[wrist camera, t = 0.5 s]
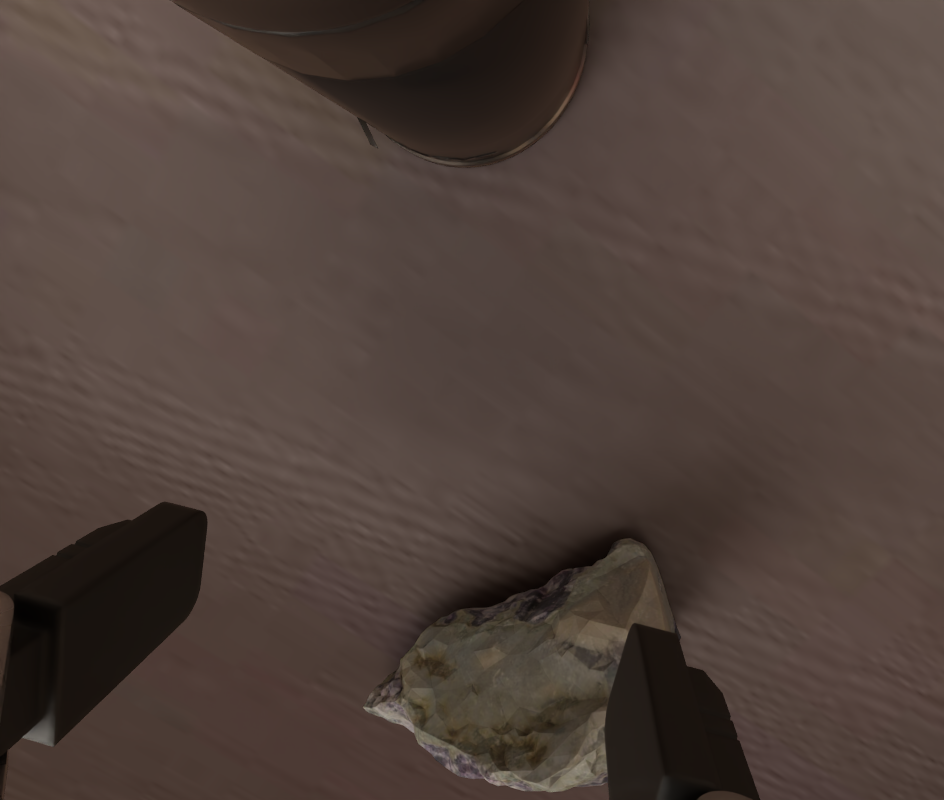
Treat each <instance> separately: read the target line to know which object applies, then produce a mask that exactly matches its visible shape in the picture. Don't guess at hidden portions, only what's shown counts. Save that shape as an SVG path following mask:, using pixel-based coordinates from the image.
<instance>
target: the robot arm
mask: <svg viewBox="0 0 944 800" xmlns="http://www.w3.org/2000/svg"><path fill="white" fill-rule="evenodd" d="M170 1H172V2H173V3H175V4H176V5H178V6H179V7H181V8H182V9H184V10H186V11H187V12H189V13H191V14H192V15H194V16H195V17H197V18H199V19H200V20H202V21H203V22H205V23H207V24H208V25H210V26H211V27H213V28H215V29H216V30H218V31H220V32H221V33H223V34H224V35H226V36H228V37H229V38H231V39H232V40H234V41H236V42H237V43H239V44H241V45H242V46H244V47H245V48H247V49H249V50H250V51H252V52H253V53H255V54H257V55H258V56H260V57H262V58H264V59H265V60H267V61H268V62H270V63H272V64H273V65H275V66H276V67H278V68H280V69H281V70H283V71H284V72H286V73H288V74H289V75H291V76H292V77H294V78H296V79H297V80H299V81H301V82H302V83H304V84H305V85H307V86H309V87H310V88H312V89H313V90H315V91H317V92H318V93H320V94H321V95H323V96H325V97H326V98H328V99H329V100H331V101H333V102H334V103H336V104H337V105H339V106H341V107H342V108H344V109H345V110H347V111H349V112H350V113H352V114H353V115H355V116H357V118H358V120H359V122H360V124H361V126H362V128H363V130H364V132H365V134H366V136H367V138H368V140H369V142H370V144H371V145H372V146H374V147H376V148H378V147H377V145H376V143H375V141H374V139H373V137H372V134H371V132H370V130H369V128H368V126H367V124H366V123H368V124H369V125H371V126H373V127H374V128H376V129H378V130H379V131H381V132H382V133H384V134H385V135H386V136H387V137H389V138H390V139H391V140H392V141H393V142H395V143H396V144H397V145H399V146H400V147H402V148H403V149H405V150H407V151H408V152H410V153H412V154H414V155H415V156H417V157H420V158H422V159H424V160H426V161H429V162H432V163H435V164H439V165H444V166H449V167H458V168H471V167H481V166H486V165H491V164H494V163H498V162H501V161H504V160H506V159H508V158H511V157H513V156H515V155H517V154H519V153H520V152H522V151H524V150H526V149H527V148H529V147H530V146H531V145H533V144H534V143H535V142H537V141H538V140H539V139H540V138H541V137H543V136H544V135H545V134H546V133H547V132H548V131H549V130H550V129H551V128H552V127H553V125H554V124H555V123H556V122H557V120H558V119H559V118H560V117H561V115H562V114H563V112H564V111H565V109H566V108H567V106H568V104H569V103H570V101H571V99H572V97H573V95H574V93H575V91H576V88H577V86H578V84H579V81H580V78H581V75H582V72H583V68H584V64H585V60H586V54H587V47H588V37H589V0H170ZM206 533H207V516H206V514H205V513H204V512H203V511H200V510H196V509H192V508H189V507H185V506H181V505H177V504H173V503H169V502H162V503H160V504H158V505H156V506H155V507H153V508H152V509H150V510H148V511H147V512H145V513H143V514H142V515H140V516H139V517H137V518H135V519H134V520H132V521H131V520H125V521H121V522H118V523H115V524H111V525H108V526H104V527H101V528H98V529H96V530H95V531H93V532H91V533H89V534H88V535H86V536H84V537H83V538H81V539H79V540H78V541H76V543H75V545H74V544H71V545H69V546H67V547H66V548H64V549H62V550H61V551H59V552H58V553H57V555H56V556H54V555H52V556H50V557H49V558H47V559H45V560H44V561H42V562H40V563H38V564H37V565H35V566H33V567H32V568H30V569H28V570H27V571H25V572H23V573H22V574H20V575H18V576H16V577H15V578H13V579H11V580H10V581H8V582H6V583H5V584H3V585H1V586H0V800H4V794H5V786H6V778H7V770H8V754H9V749H10V748H11V747H12V746H13V745H14V744H15V743H16V742H18V741H19V740H20V739H21V738H25V739H29V740H32V741H36V742H39V743H42V744H46V745H49V746H52V747H54V746H55V745H56V744H57V743H58V742H59V741H60V740H61V739H62V738H63V737H64V736H65V735H66V734H67V733H68V732H69V731H70V730H71V729H72V728H74V727H75V726H76V725H77V724H78V723H79V722H80V721H81V720H82V719H83V718H84V717H85V716H86V715H87V714H88V713H89V712H90V711H91V710H92V709H93V708H94V707H95V706H96V705H97V704H98V703H99V702H101V701H102V700H103V699H104V698H105V697H106V696H107V695H108V694H109V693H110V692H111V691H112V690H113V689H114V688H115V687H116V686H117V685H118V684H119V683H120V682H121V681H122V680H123V679H124V678H125V677H126V676H127V675H129V674H130V673H131V672H132V671H133V670H134V669H135V668H136V667H137V666H138V665H139V664H140V663H141V662H142V661H143V660H144V659H145V658H146V657H147V656H148V655H149V654H150V653H151V652H152V651H153V650H154V649H155V648H157V647H158V646H159V645H160V644H161V643H162V642H163V641H164V640H165V639H166V638H167V637H168V636H169V635H170V634H171V633H172V632H173V631H174V630H175V629H176V628H177V627H178V626H179V625H180V624H181V623H182V622H184V620H185V619H186V618H187V617H188V616H189V614H190V612H191V611H192V609H193V607H194V605H195V603H196V600H197V598H198V594H199V591H200V585H201V577H202V568H203V559H204V550H205V541H206ZM730 717H731V716H730V713H729V710H728V707H727V705H726V702H725V699H724V696H723V693H722V692H721V691H720V690H719V689H718V687H717V686H716V685H715V684H714V683H713V681H712V680H711V679H710V678H709V677H708V675H707V674H706V673H705V672H704V671H703V670H700V669H696V668H692V667H688V666H686V662H685V659H684V655H683V652H682V649H681V645H680V642H679V638H678V636H677V634H676V633H672V632H668V631H665V630H661V629H657V628H653V627H649V626H645V625H641V624H637V623H633V624H632V626H631V628H630V630H629V632H628V635H627V639H626V642H625V645H624V649H623V652H622V656H621V659H620V662H619V666H618V669H617V673H616V676H615V679H614V683H613V686H612V690H611V693H610V697H609V700H608V705H607V710H606V717H605V731H604V735H605V749H606V762H607V774H608V787H609V800H760V798H759V795H758V792H757V789H756V787H755V784H754V781H753V778H752V775H751V772H750V770H749V767H748V764H747V761H746V758H745V756H744V753H743V750H742V747H741V744H740V741H739V740H737V733H736V730H735V727H734V724H733V722H732V721H730Z"/></svg>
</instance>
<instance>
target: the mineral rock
mask: <svg viewBox="0 0 944 800" xmlns="http://www.w3.org/2000/svg"><path fill="white" fill-rule="evenodd" d="M633 623H637V624H641V625H645V626H649V627H653V628H657V629H661V630H665V631H668V632H672V633H676V634H677V636H678V638H679V641H680V638H681V636H680V634H679V631H678V629H677V626H676V623H675V621H674V618H673V615H672V612H671V609H670V606H669V602H668V599H667V595H666V591H665V588H664V584H663V581H662V579H661V576H660V572H659V569H658V566H657V564H656V562H655V560H654V558H653V556H652V554H651V552H650V551H649V549H648V548H647V547H646V546H645V545H644V544H643V543H640V542H637V541H635V540H633V539H631V538H627V539H621V540H618V541H616V542H615V543H613V544H612V546H611V549H610V551H609V553H608V555H607V557H606V558H604V559H602V560H598V561H597V562H596V563H595V564H594V565H593V566H586V567H579V568H574V569H571V568H570V569H566V570H561V571H560V572H559V573H558V574H557V575H555V576H554V577H552V578H551V579H550V581H549V582H548V583H547V584H546V585H545V586H543V587H540V588H538V589H531V590H528V591H526V592H522V593H518V594H515V595H513V596H510V597H509V598H508V599H507V600H506V601H504V602H502V603H499V604H496V605H494V606H492V607H488V608H465V609H460V610H456V611H454V612H452V613H451V614H449V615H448V616H445V617H441V618H440V619H439V620H438V621H437V622H435V623H434V624H432V625H430V626H429V627H428V628H427V629H426V630H424V631H423V632H422V633H421V635H420V636H419V638H418V640H417V641H416V643H415V645H414V646H413V647H412V648H411V649H410V650H409V651H408V652H407V653H406V655H405V656H404V657H402V658H401V659H400V667H399V668H398V670H397V671H395V672H393V673H392V674H390V675H389V676H388V677H387V678H386V679H385V680H384V681H383V682H382V684H380V685H378V686H377V687H376V688H375V689H374V690H373V692H372V693H371V694H370V695H369V697H368V701H367V702H366V704H365V705H364V707H363V708H364V709H365V710H366V711H367V712H369V713H371V714H374V715H377V716H380V717H383V718H384V719H386V720H387V721H389V722H392V723H397V724H401V725H404V726H405V727H407V728H408V729H409V730H410V731H411V732H413V733H414V734H415V737H416V739H417V742H418V744H419V745H421V746H422V747H423V748H425V749H426V750H427V751H429V752H430V753H431V754H432V755H433V756H434V758H435V759H436V761H438V762H439V763H440V764H442V765H443V766H444V767H446V768H447V769H449V770H450V771H452V772H453V773H455V774H456V775H458V776H460V777H466V778H471V779H486V780H487V781H488V782H489V783H492V784H494V785H497V786H502V785H507V786H509V787H512V788H515V789H519V790H522V791H548V792H557V791H565V790H567V789H570V788H572V787H574V786H575V787H588V786H597V785H603V784H604V783H608V774H607V762H606V749H605V735H604V731H605V717H606V710H607V705H608V700H609V697H610V693H611V690H612V686H613V683H614V679H615V676H616V673H617V669H618V666H619V662H620V659H621V656H622V652H623V649H624V645H625V642H626V639H627V635H628V632H629V630H630V628H631V626H632V624H633Z"/></svg>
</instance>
